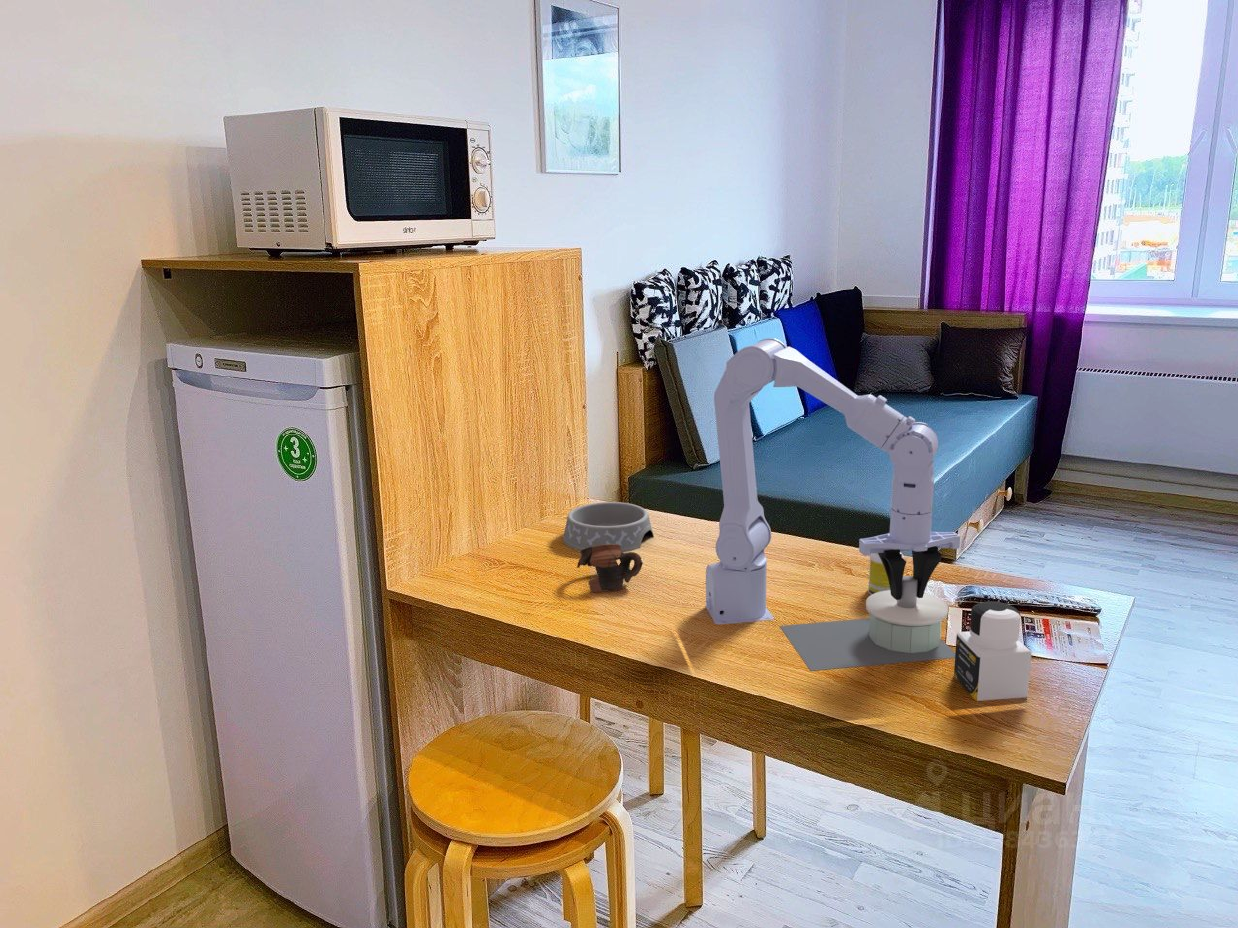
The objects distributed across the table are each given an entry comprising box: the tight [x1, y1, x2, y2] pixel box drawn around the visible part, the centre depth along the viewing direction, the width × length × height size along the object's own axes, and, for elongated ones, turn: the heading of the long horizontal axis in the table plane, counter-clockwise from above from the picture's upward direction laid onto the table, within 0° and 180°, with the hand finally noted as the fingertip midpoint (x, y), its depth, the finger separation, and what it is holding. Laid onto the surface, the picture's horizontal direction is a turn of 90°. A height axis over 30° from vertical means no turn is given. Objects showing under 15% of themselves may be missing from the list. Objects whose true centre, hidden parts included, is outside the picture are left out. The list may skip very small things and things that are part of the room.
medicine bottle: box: [953, 600, 1032, 702], centre depth 127 cm, size 7×7×12 cm
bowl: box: [869, 613, 942, 653], centre depth 143 cm, size 10×10×4 cm
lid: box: [865, 575, 949, 626], centre depth 142 cm, size 12×12×5 cm
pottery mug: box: [576, 544, 644, 593], centre depth 169 cm, size 12×10×8 cm
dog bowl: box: [562, 501, 655, 553], centre depth 192 cm, size 17×18×5 cm
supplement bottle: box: [867, 551, 905, 596], centre depth 159 cm, size 5×5×10 cm
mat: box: [779, 617, 955, 672], centre depth 143 cm, size 22×15×1 cm
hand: (906, 596), depth 142 cm, fingers closed on lid, 3 cm apart
